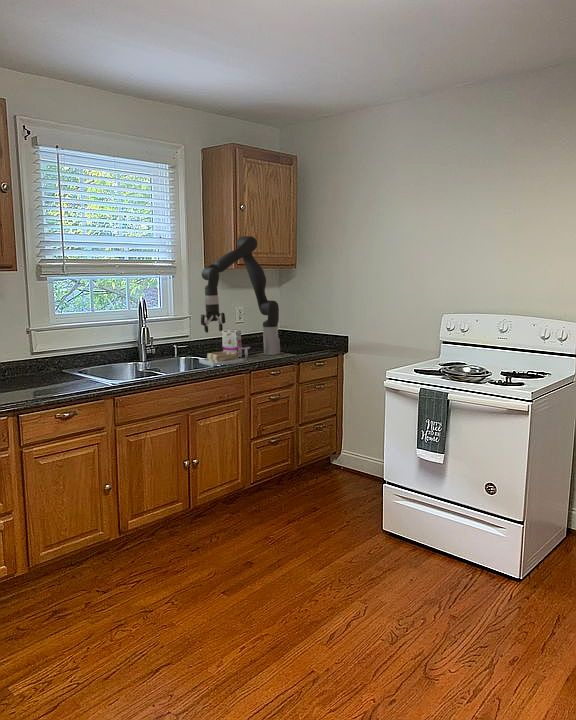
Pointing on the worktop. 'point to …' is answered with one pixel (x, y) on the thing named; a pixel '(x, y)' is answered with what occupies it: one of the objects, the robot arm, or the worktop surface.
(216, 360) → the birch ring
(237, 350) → the candy bar box
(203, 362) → the tray
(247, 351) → the steel T-stake
